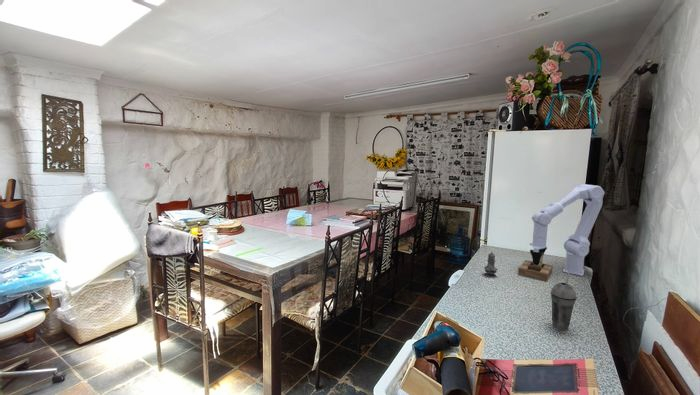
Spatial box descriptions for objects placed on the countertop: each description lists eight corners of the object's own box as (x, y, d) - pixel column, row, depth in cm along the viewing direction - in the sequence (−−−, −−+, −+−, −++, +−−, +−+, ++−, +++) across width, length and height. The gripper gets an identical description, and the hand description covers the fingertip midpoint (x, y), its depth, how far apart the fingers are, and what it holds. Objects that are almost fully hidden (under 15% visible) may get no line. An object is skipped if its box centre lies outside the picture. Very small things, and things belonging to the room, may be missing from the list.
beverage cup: (542, 321, 107) (547, 267, 104) (561, 320, 108) (567, 266, 105) (558, 333, 100) (564, 275, 97) (578, 332, 100) (585, 275, 98)
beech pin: (533, 267, 155) (534, 251, 154) (542, 269, 153) (544, 253, 151) (531, 269, 152) (532, 253, 151) (540, 271, 150) (542, 255, 148)
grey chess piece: (498, 278, 144) (500, 254, 143) (485, 277, 145) (486, 253, 144) (495, 273, 150) (496, 250, 148) (482, 272, 151) (483, 249, 149)
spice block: (525, 266, 159) (525, 260, 159) (552, 272, 152) (552, 265, 151) (517, 274, 148) (518, 268, 148) (546, 281, 140) (547, 274, 140)
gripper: (533, 232, 158) (531, 257, 160) (527, 237, 147) (525, 264, 149) (549, 234, 153) (547, 260, 155) (544, 240, 143) (541, 268, 145)
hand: (537, 262), depth 152 cm, fingers open, 7 cm apart
